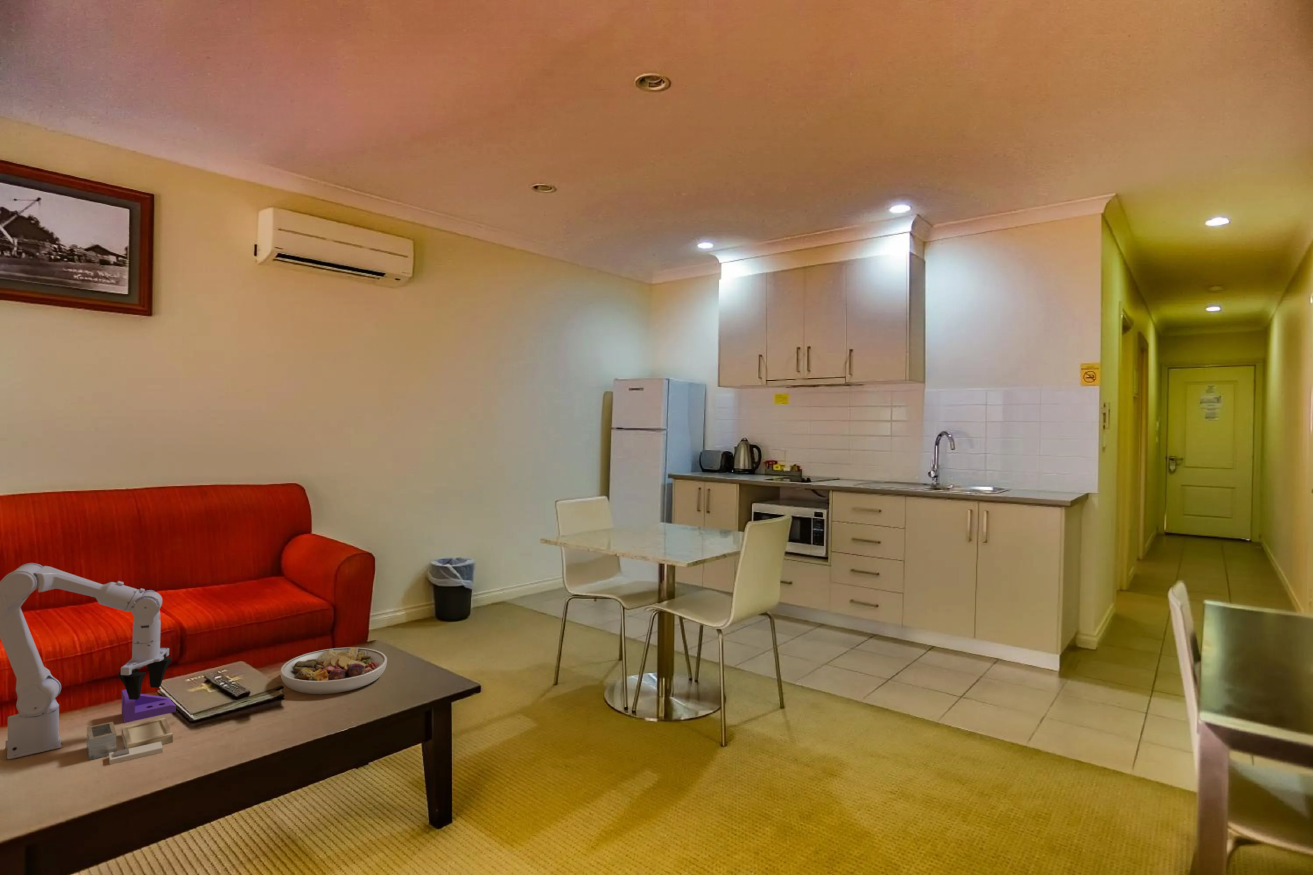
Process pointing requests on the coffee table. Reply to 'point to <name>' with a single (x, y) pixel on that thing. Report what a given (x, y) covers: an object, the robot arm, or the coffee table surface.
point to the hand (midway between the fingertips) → (145, 692)
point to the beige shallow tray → (147, 733)
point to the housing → (101, 740)
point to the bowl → (333, 670)
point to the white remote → (135, 752)
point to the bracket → (145, 707)
